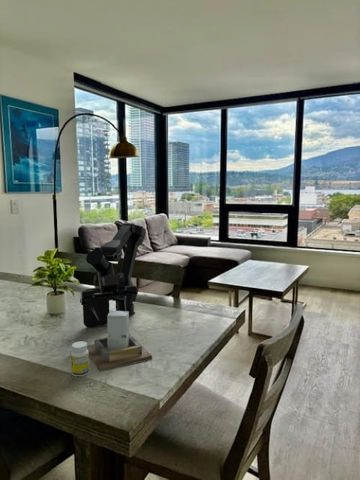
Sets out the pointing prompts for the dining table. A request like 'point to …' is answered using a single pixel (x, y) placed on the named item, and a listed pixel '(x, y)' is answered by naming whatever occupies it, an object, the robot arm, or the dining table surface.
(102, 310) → the carrying case or bag
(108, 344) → the skincare box
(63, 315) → the dining table surface
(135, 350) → the sleeve holder
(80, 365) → the supplement bottle
